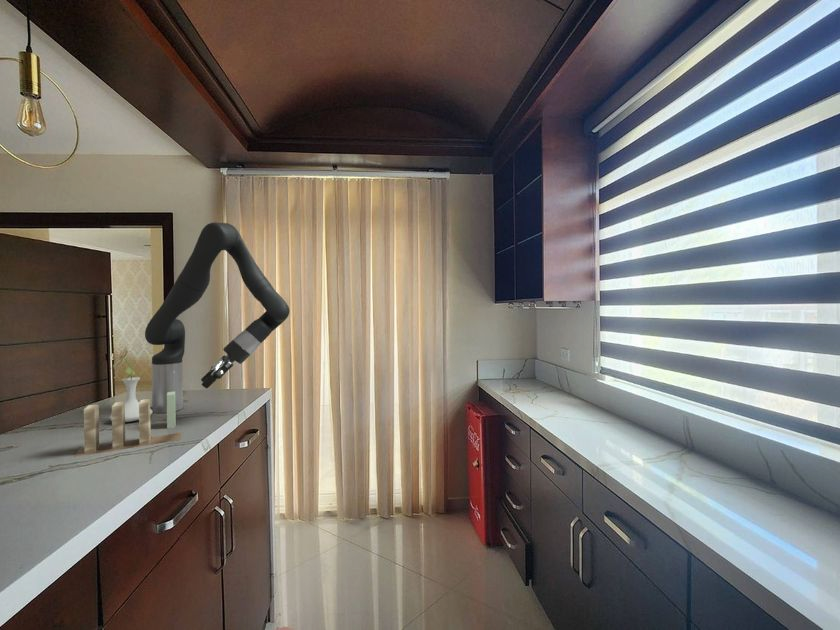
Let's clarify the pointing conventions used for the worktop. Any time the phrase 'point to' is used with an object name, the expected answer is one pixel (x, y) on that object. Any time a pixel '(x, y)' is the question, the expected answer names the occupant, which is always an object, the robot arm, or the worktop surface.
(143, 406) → the domino
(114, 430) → the domino
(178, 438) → the board
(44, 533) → the worktop surface
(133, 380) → the flower in vase
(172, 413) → the green domino
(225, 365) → the robot arm
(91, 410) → the end domino
